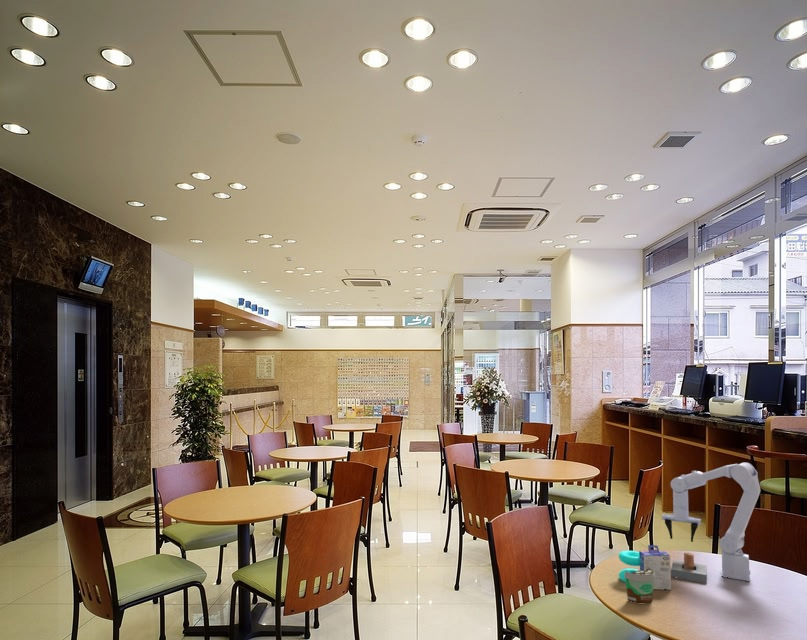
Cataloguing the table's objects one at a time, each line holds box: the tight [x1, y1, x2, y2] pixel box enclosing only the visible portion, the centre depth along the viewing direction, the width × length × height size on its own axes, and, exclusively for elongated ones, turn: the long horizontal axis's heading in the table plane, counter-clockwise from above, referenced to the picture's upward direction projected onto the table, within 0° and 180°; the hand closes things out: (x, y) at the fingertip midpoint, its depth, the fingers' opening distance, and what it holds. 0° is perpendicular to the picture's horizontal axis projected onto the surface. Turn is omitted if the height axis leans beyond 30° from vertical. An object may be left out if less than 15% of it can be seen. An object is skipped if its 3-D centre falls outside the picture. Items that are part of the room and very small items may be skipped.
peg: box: [683, 552, 695, 570], centre depth 222 cm, size 4×4×8 cm
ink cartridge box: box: [638, 544, 672, 591], centre depth 209 cm, size 10×6×14 cm, turn 87°
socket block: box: [670, 559, 708, 584], centre depth 221 cm, size 12×12×3 cm
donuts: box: [618, 550, 641, 583], centre depth 215 cm, size 10×10×10 cm
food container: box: [624, 567, 656, 604], centre depth 196 cm, size 12×6×10 cm, turn 117°
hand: (681, 539), depth 236 cm, fingers open, 7 cm apart
